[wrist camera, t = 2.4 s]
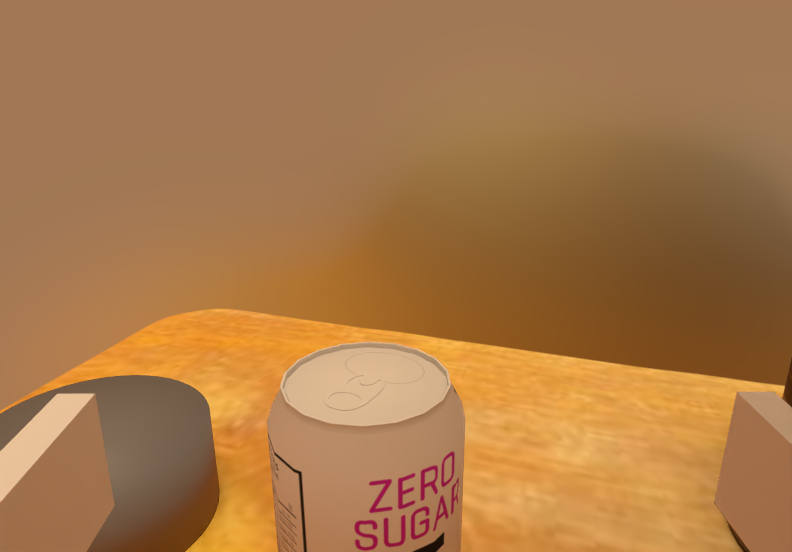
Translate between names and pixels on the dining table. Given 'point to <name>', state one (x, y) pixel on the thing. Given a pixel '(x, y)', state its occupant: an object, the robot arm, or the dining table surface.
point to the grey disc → (145, 459)
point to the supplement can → (367, 452)
